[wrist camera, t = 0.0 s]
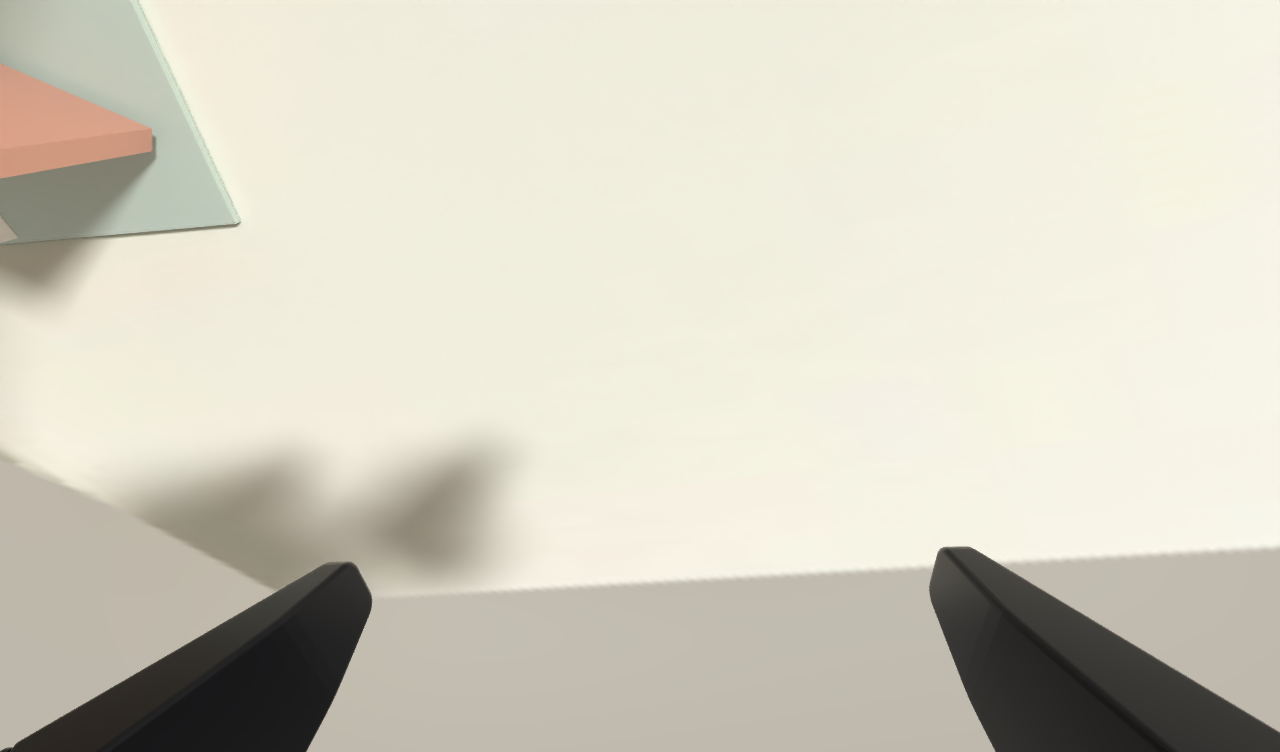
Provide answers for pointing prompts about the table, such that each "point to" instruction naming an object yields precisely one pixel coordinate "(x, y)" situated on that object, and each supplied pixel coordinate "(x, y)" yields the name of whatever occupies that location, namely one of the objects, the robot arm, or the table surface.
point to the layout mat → (127, 85)
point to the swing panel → (58, 128)
